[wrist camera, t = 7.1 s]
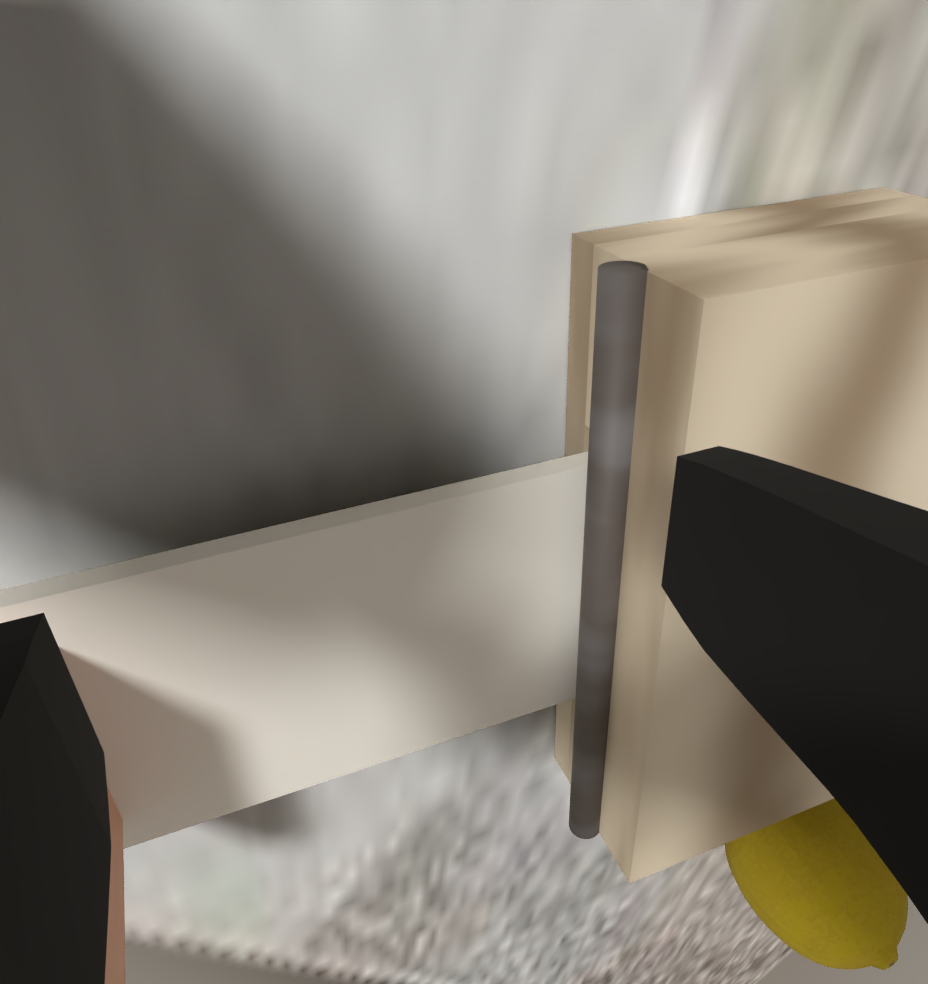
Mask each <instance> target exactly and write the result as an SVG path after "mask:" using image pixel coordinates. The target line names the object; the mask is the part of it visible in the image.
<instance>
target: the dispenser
mask: <svg viewBox="0 0 928 984" xmlns="http://www.w3.org/2000/svg"><path fill="white" fill-rule="evenodd" d="M717 446H722V447H726V448H730V449H735V450H739V451H743V452H746V453H750V454H754V455H757V456H760V457H764V458H767V459H770V460H774V461H777V462H780V463H783V464H786V465H790V466H793V467H796V468H799V469H802V470H805V471H808V472H811V473H814V474H817V475H820V476H823V477H826V478H829V479H832V480H835V481H838V482H841V483H844V484H847V485H850V486H853V487H856V488H859V489H862V490H865V491H868V492H871V493H874V494H877V495H880V496H883V497H886V498H889V499H892V500H895V501H898V502H901V503H905V504H908V505H911V506H914V507H917V508H920V509H923V510H926V511H928V198H925V197H921V196H916V195H912V194H908V193H904V192H900V191H895V190H891V189H887V188H877V189H871V190H864V191H857V192H850V193H844V194H837V195H830V196H823V197H817V198H810V199H803V200H796V201H790V202H783V203H776V204H769V205H763V206H756V207H749V208H742V209H736V210H729V211H722V212H715V213H709V214H702V215H695V216H688V217H682V218H675V219H668V220H661V221H655V222H648V223H641V224H634V225H628V226H621V227H614V228H608V229H601V230H594V231H587V232H581V233H574V234H572V257H571V287H570V316H569V346H568V376H567V406H566V435H565V457H567V456H571V455H575V454H579V453H584V452H588V466H587V485H586V505H585V524H584V543H583V562H582V582H581V601H580V620H579V639H578V658H577V678H576V697H575V699H572V700H569V701H566V702H563V703H560V704H557V705H556V733H555V758H556V760H557V762H558V763H559V765H560V767H561V768H562V770H563V772H564V773H565V775H566V777H567V779H568V780H569V782H570V784H571V793H570V812H569V827H570V830H571V831H572V833H573V834H574V835H576V836H577V837H579V838H582V839H590V838H593V837H595V836H596V835H597V834H598V833H600V834H601V836H602V838H603V840H604V841H605V843H606V845H607V846H608V848H609V850H610V851H611V853H612V855H613V856H614V858H615V860H616V862H617V863H618V865H619V867H620V868H621V870H622V872H623V873H624V875H625V877H626V879H627V880H628V882H629V883H632V882H634V881H636V880H639V879H641V878H644V877H646V876H649V875H651V874H653V873H656V872H658V871H661V870H663V869H665V868H668V867H670V866H673V865H675V864H677V863H680V862H682V861H685V860H687V859H689V858H692V857H694V856H697V855H699V854H701V853H704V852H706V851H709V850H711V849H713V848H716V847H718V846H721V845H723V844H725V843H728V842H730V841H733V840H735V839H738V838H740V837H742V836H745V835H747V834H750V833H752V832H754V831H757V830H759V829H762V828H764V827H766V826H769V825H771V824H774V823H776V822H778V821H781V820H783V819H786V818H788V817H790V816H793V815H795V814H798V813H800V812H802V811H805V810H807V809H810V808H812V807H815V806H817V805H819V804H822V803H824V802H827V801H829V800H831V799H834V797H833V796H832V795H831V794H830V792H829V791H828V790H827V789H826V788H825V787H824V785H823V784H822V783H821V782H820V781H819V780H818V779H817V778H816V777H815V775H814V774H813V773H812V772H811V771H810V770H809V769H808V768H807V766H806V765H805V764H804V763H803V762H802V761H801V760H800V759H799V758H798V756H797V755H796V754H795V753H794V752H793V751H792V750H791V749H790V747H789V746H788V745H787V744H786V743H785V742H784V741H783V740H782V739H781V737H780V736H779V735H778V734H777V733H776V732H775V731H774V730H773V728H772V727H771V726H770V725H769V724H768V723H767V722H766V721H765V720H764V718H763V717H762V716H761V715H760V714H759V713H758V712H757V711H756V709H755V708H754V707H753V706H752V705H751V704H750V703H749V702H748V701H747V699H746V698H745V697H744V696H743V695H742V694H741V693H740V691H739V690H738V689H737V688H736V687H735V686H734V685H733V683H732V682H731V681H730V680H729V679H728V678H727V677H726V675H725V674H724V673H723V672H722V671H721V670H720V669H719V667H718V666H717V665H716V664H715V663H714V662H713V660H712V659H711V658H710V657H709V656H708V655H707V653H706V652H705V651H704V650H703V648H702V647H701V646H700V644H699V643H698V641H697V640H696V638H695V637H694V635H693V634H692V633H691V631H690V630H689V628H688V627H687V625H686V624H685V623H684V621H683V620H682V618H681V616H680V615H679V613H678V612H677V610H676V609H675V607H674V605H673V604H672V602H671V601H670V599H669V598H668V596H667V594H666V593H665V591H664V590H663V588H662V587H661V583H662V575H663V567H664V559H665V551H666V542H667V534H668V526H669V518H670V510H671V502H672V493H673V485H674V477H675V469H676V461H677V456H680V455H684V454H688V453H692V452H696V451H701V450H705V449H709V448H713V447H717Z"/></svg>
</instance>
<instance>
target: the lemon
mask: <svg viewBox="0 0 928 984" xmlns="http://www.w3.org/2000/svg"><path fill="white" fill-rule="evenodd" d="M725 849H726V856H727V859H728V863H729V866H730V869H731V871H732V874H733V876H734V878H735V880H736V882H737V884H738V886H739V888H740V890H741V892H742V894H743V895H744V897H745V899H746V900H747V902H748V903H749V905H750V906H751V908H752V909H753V910H754V912H755V913H756V914H757V915H758V917H759V918H760V919H761V920H762V921H763V922H764V923H765V925H766V926H767V927H768V928H769V929H770V930H771V931H772V932H773V933H774V934H775V935H776V936H777V937H779V938H780V939H781V940H782V941H783V942H784V943H785V944H787V945H788V946H789V947H790V948H792V949H793V950H794V951H796V952H797V953H799V954H800V955H802V956H804V957H806V958H808V959H810V960H812V961H814V962H815V963H818V964H821V965H824V966H827V967H832V968H837V969H859V968H864V967H868V966H873V967H876V968H879V969H882V970H885V969H887V968H889V967H891V966H892V965H893V964H894V963H895V962H896V961H897V960H898V953H897V945H898V944H899V942H900V940H901V937H902V935H903V933H904V930H905V926H906V922H907V913H908V912H907V911H908V898H907V893H906V892H905V891H904V889H903V888H902V887H901V885H900V884H899V882H898V881H897V880H896V878H895V877H894V876H893V874H892V873H891V872H890V870H889V869H888V867H887V866H886V865H885V863H884V862H883V861H882V859H881V858H880V857H879V855H878V854H877V852H876V851H875V850H874V848H873V847H872V846H871V844H870V843H869V842H868V840H867V839H866V838H865V836H864V835H863V833H862V832H861V831H860V829H859V828H858V827H857V825H856V824H855V823H854V821H853V820H852V819H851V818H850V817H849V815H848V814H847V813H846V812H845V811H844V809H843V808H842V807H841V806H840V805H839V803H838V802H837V801H836V800H835V798H834V799H831V800H829V801H827V802H824V803H822V804H819V805H817V806H815V807H812V808H810V809H807V810H805V811H802V812H800V813H798V814H795V815H793V816H790V817H788V818H786V819H783V820H781V821H778V822H776V823H774V824H771V825H769V826H766V827H764V828H762V829H759V830H757V831H754V832H752V833H750V834H747V835H745V836H742V837H740V838H738V839H735V840H733V841H730V842H728V843H725Z"/></svg>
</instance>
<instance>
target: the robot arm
mask: <svg viewBox="0 0 928 984" xmlns="http://www.w3.org/2000/svg"><path fill="white" fill-rule="evenodd" d="M661 587H662V588H663V590H664V591H665V593H666V594H667V596H668V598H669V599H670V601H671V602H672V604H673V605H674V607H675V609H676V610H677V612H678V613H679V615H680V616H681V618H682V620H683V621H684V623H685V624H686V625H687V627H688V628H689V630H690V631H691V633H692V634H693V635H694V637H695V638H696V640H697V641H698V643H699V644H700V646H701V647H702V648H703V650H704V651H705V652H706V653H707V655H708V656H709V657H710V658H711V659H712V660H713V662H714V663H715V664H716V665H717V666H718V667H719V669H720V670H721V671H722V672H723V673H724V674H725V675H726V677H727V678H728V679H729V680H730V681H731V682H732V683H733V685H734V686H735V687H736V688H737V689H738V690H739V691H740V693H741V694H742V695H743V696H744V697H745V698H746V699H747V701H748V702H749V703H750V704H751V705H752V706H753V707H754V708H755V709H756V711H757V712H758V713H759V714H760V715H761V716H762V717H763V718H764V720H765V721H766V722H767V723H768V724H769V725H770V726H771V727H772V728H773V730H774V731H775V732H776V733H777V734H778V735H779V736H780V737H781V739H782V740H783V741H784V742H785V743H786V744H787V745H788V746H789V747H790V749H791V750H792V751H793V752H794V753H795V754H796V755H797V756H798V758H799V759H800V760H801V761H802V762H803V763H804V764H805V765H806V766H807V768H808V769H809V770H810V771H811V772H812V773H813V774H814V775H815V777H816V778H817V779H818V780H819V781H820V782H821V783H822V784H823V785H824V787H825V788H826V789H827V790H828V791H829V792H830V794H831V795H832V796H833V797H834V798H835V800H836V801H837V802H838V803H839V805H840V806H841V807H842V808H843V809H844V811H845V812H846V813H847V814H848V815H849V817H850V818H851V819H852V820H853V821H854V823H855V824H856V825H857V827H858V828H859V829H860V831H861V832H862V833H863V835H864V836H865V838H866V839H867V840H868V842H869V843H870V844H871V846H872V847H873V848H874V850H875V851H876V852H877V854H878V855H879V857H880V858H881V859H882V861H883V862H884V863H885V865H886V866H887V867H888V869H889V870H890V872H891V873H892V874H893V876H894V877H895V878H896V880H897V881H898V882H899V884H900V885H901V887H902V888H903V889H904V891H905V892H906V893H907V895H908V896H909V897H910V899H911V900H912V902H913V903H914V905H915V906H916V908H917V909H918V910H919V912H920V913H921V915H922V916H923V918H924V919H925V921H926V922H927V923H928V511H926V510H923V509H920V508H917V507H914V506H911V505H908V504H905V503H901V502H898V501H895V500H892V499H889V498H886V497H883V496H880V495H877V494H874V493H871V492H868V491H865V490H862V489H859V488H856V487H853V486H850V485H847V484H844V483H841V482H838V481H835V480H832V479H829V478H826V477H823V476H820V475H817V474H814V473H811V472H808V471H805V470H802V469H799V468H796V467H793V466H790V465H786V464H783V463H780V462H777V461H774V460H770V459H767V458H764V457H760V456H757V455H754V454H750V453H746V452H743V451H739V450H735V449H730V448H726V447H722V446H717V447H713V448H709V449H705V450H701V451H696V452H692V453H688V454H684V455H680V456H677V461H676V469H675V477H674V485H673V493H672V502H671V510H670V518H669V526H668V534H667V542H666V551H665V559H664V567H663V575H662V583H661ZM110 868H111V833H110V818H109V803H108V791H107V780H106V768H105V757H104V751H103V749H102V746H101V744H100V742H99V739H98V737H97V735H96V732H95V730H94V728H93V725H92V723H91V721H90V719H89V716H88V714H87V712H86V709H85V707H84V705H83V702H82V700H81V698H80V695H79V693H78V691H77V688H76V686H75V684H74V682H73V679H72V677H71V675H70V672H69V670H68V668H67V665H66V663H65V661H64V658H63V656H62V654H61V651H60V649H59V647H58V645H57V642H56V640H55V638H54V635H53V633H52V631H51V628H50V626H49V624H48V621H47V619H46V617H45V614H44V613H40V614H36V615H32V616H28V617H24V618H20V619H16V620H12V621H8V622H4V623H0V984H105V968H106V950H107V931H108V910H109V889H110Z"/></svg>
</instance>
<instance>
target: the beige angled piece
mask: <svg viewBox="0 0 928 984" xmlns="http://www.w3.org/2000/svg"><path fill="white" fill-rule="evenodd" d="M587 466H588V452H584V453H579V454H575V455H571V456H567V457H563V458H558V459H554V460H550V461H546V462H541V463H537V464H533V465H529V466H524V467H520V468H516V469H512V470H507V471H503V472H499V473H495V474H491V475H486V476H482V477H478V478H474V479H469V480H465V481H461V482H457V483H452V484H448V485H444V486H440V487H435V488H431V489H427V490H423V491H419V492H414V493H410V494H406V495H402V496H397V497H393V498H389V499H385V500H380V501H376V502H372V503H368V504H364V505H359V506H355V507H351V508H347V509H342V510H338V511H334V512H330V513H325V514H321V515H317V516H313V517H308V518H304V519H300V520H296V521H292V522H287V523H283V524H279V525H275V526H270V527H266V528H262V529H258V530H253V531H249V532H245V533H241V534H236V535H232V536H228V537H224V538H220V539H215V540H211V541H207V542H203V543H198V544H194V545H190V546H186V547H181V548H177V549H173V550H169V551H164V552H160V553H156V554H152V555H148V556H143V557H139V558H135V559H131V560H126V561H122V562H118V563H114V564H109V565H105V566H101V567H97V568H93V569H88V570H84V571H80V572H76V573H71V574H67V575H63V576H59V577H54V578H50V579H46V580H42V581H37V582H33V583H29V584H25V585H21V586H16V587H12V588H8V589H4V590H0V623H4V622H8V621H12V620H16V619H20V618H24V617H28V616H32V615H36V614H40V613H44V614H45V617H46V619H47V621H48V624H49V626H50V628H51V631H52V633H53V635H54V638H55V640H56V642H57V645H58V647H59V649H60V651H61V654H62V656H63V658H64V661H65V663H66V665H67V668H68V670H69V672H70V675H71V677H72V679H73V682H74V684H75V686H76V688H77V691H78V693H79V695H80V698H81V700H82V702H83V705H84V707H85V709H86V712H87V714H88V716H89V719H90V721H91V723H92V725H93V728H94V730H95V732H96V735H97V737H98V739H99V742H100V744H101V746H102V749H103V751H104V757H105V768H106V780H107V791H108V803H109V818H110V833H111V868H110V889H109V910H108V931H107V950H106V968H105V984H126V983H125V922H124V861H123V849H124V848H127V847H130V846H133V845H136V844H139V843H142V842H145V841H148V840H151V839H154V838H157V837H160V836H163V835H166V834H169V833H172V832H175V831H178V830H181V829H184V828H187V827H190V826H193V825H196V824H199V823H202V822H205V821H208V820H211V819H214V818H217V817H220V816H223V815H226V814H229V813H232V812H235V811H238V810H241V809H244V808H247V807H250V806H253V805H256V804H259V803H262V802H265V801H268V800H271V799H274V798H277V797H280V796H283V795H286V794H289V793H292V792H295V791H298V790H301V789H304V788H307V787H310V786H313V785H316V784H319V783H322V782H325V781H328V780H331V779H334V778H337V777H340V776H343V775H346V774H349V773H352V772H356V771H359V770H362V769H365V768H368V767H371V766H374V765H377V764H380V763H383V762H386V761H389V760H392V759H395V758H398V757H401V756H404V755H407V754H410V753H413V752H416V751H419V750H422V749H425V748H428V747H431V746H434V745H437V744H440V743H443V742H446V741H449V740H452V739H455V738H458V737H461V736H464V735H467V734H470V733H473V732H476V731H479V730H482V729H485V728H488V727H491V726H494V725H497V724H500V723H503V722H506V721H509V720H512V719H515V718H518V717H521V716H524V715H527V714H530V713H533V712H536V711H539V710H542V709H545V708H548V707H551V706H554V705H557V704H560V703H563V702H566V701H569V700H572V699H575V697H576V678H577V658H578V639H579V620H580V601H581V582H582V562H583V543H584V524H585V505H586V485H587Z"/></svg>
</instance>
